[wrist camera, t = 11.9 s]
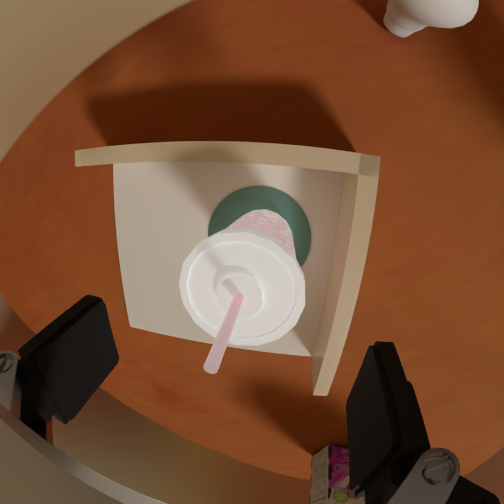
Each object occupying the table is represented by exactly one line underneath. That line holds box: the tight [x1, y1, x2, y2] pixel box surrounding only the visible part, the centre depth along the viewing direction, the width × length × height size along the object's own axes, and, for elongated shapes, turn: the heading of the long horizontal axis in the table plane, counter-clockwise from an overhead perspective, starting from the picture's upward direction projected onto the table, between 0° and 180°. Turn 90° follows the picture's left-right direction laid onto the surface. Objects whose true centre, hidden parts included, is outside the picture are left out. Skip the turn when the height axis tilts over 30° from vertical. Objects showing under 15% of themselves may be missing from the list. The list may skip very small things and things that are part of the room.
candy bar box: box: [309, 444, 365, 504], centre depth 23 cm, size 11×5×16 cm, turn 68°
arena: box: [75, 141, 380, 396], centre depth 20 cm, size 20×18×6 cm
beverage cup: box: [179, 209, 305, 374], centre depth 15 cm, size 6×6×14 cm
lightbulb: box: [383, 0, 479, 37], centre depth 9 cm, size 6×6×11 cm
